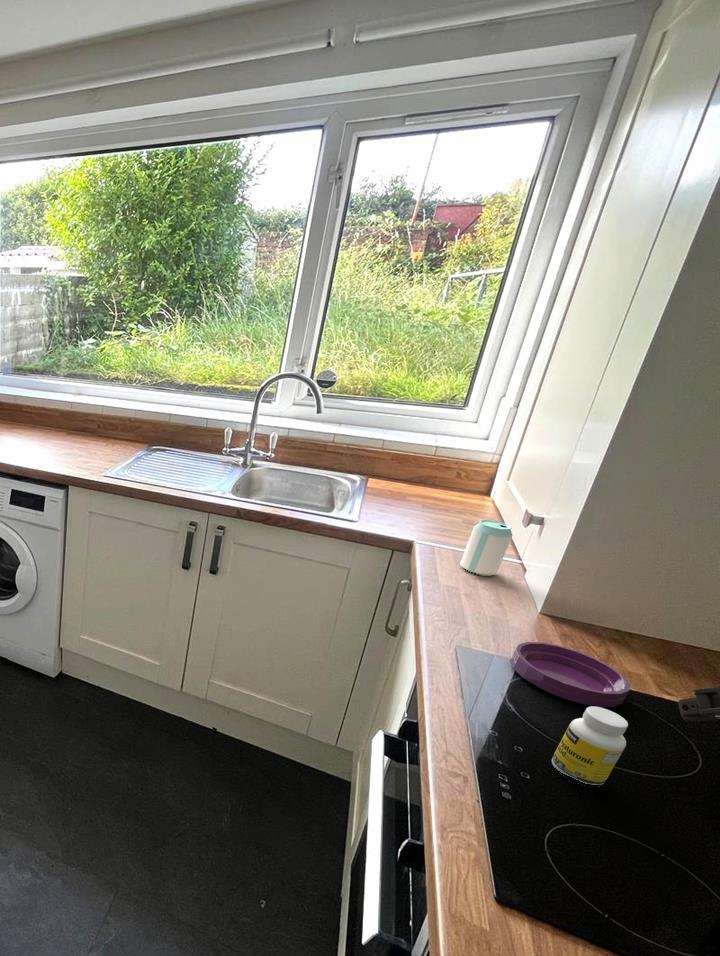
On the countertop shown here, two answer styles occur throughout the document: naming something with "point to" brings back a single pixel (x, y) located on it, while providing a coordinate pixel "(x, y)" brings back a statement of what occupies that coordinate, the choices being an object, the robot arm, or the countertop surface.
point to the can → (486, 547)
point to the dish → (570, 674)
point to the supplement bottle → (591, 746)
